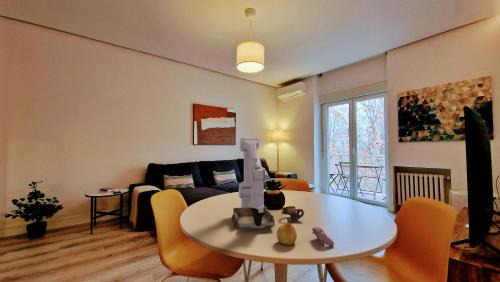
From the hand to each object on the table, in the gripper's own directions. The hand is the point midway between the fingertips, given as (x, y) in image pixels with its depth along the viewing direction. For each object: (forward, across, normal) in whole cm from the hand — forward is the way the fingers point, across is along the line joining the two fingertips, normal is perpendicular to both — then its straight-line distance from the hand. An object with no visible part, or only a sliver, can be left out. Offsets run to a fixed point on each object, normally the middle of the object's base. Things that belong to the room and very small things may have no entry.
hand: (257, 224), depth 106 cm
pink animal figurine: (+3, +17, +23) cm, 29 cm away
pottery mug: (+3, -13, +22) cm, 26 cm away
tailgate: (+1, -4, 0) cm, 4 cm away
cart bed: (+2, -12, 0) cm, 12 cm away
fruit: (+3, +15, +9) cm, 18 cm away
